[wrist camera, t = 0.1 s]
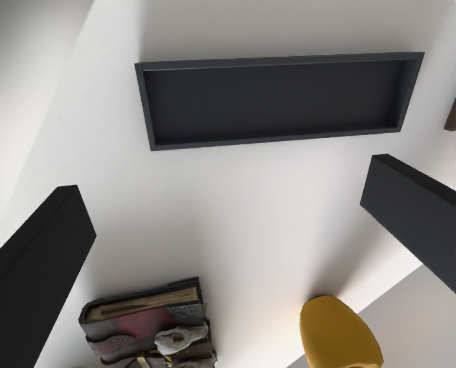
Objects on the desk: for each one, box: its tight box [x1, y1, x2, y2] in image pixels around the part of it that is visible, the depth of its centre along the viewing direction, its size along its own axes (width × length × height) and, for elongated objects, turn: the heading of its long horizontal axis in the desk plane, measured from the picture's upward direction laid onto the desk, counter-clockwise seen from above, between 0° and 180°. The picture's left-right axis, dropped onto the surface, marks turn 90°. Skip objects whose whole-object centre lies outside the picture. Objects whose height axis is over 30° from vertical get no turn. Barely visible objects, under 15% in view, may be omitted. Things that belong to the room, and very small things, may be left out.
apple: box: [300, 295, 384, 368], centre depth 41 cm, size 11×11×13 cm
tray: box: [135, 52, 425, 151], centre depth 27 cm, size 28×8×2 cm, turn 92°
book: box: [78, 277, 217, 368], centre depth 41 cm, size 26×18×7 cm
